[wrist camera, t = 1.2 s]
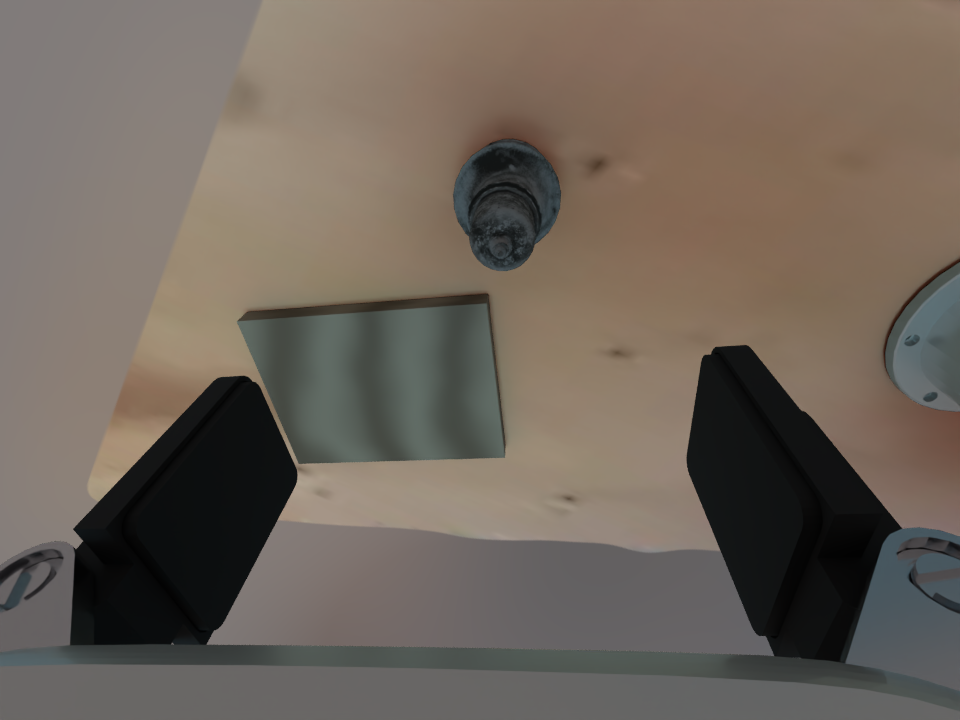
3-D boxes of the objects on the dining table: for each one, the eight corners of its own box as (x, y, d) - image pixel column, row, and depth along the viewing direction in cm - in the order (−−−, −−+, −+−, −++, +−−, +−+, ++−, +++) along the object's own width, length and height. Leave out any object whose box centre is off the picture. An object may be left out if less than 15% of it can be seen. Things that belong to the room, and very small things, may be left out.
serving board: (488, 293, 33) (486, 303, 31) (505, 444, 40) (504, 457, 39) (247, 311, 35) (236, 321, 34) (305, 451, 42) (298, 463, 41)
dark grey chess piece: (516, 251, 31) (513, 343, 21) (442, 196, 29) (399, 267, 19) (577, 175, 28) (607, 239, 18) (498, 110, 27) (482, 140, 16)
